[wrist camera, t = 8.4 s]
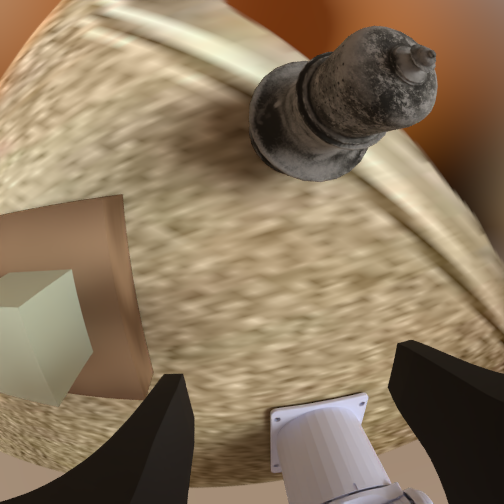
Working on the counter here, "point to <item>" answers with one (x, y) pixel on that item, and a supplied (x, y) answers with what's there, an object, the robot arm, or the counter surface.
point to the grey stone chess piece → (341, 103)
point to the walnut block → (88, 285)
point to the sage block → (41, 335)
